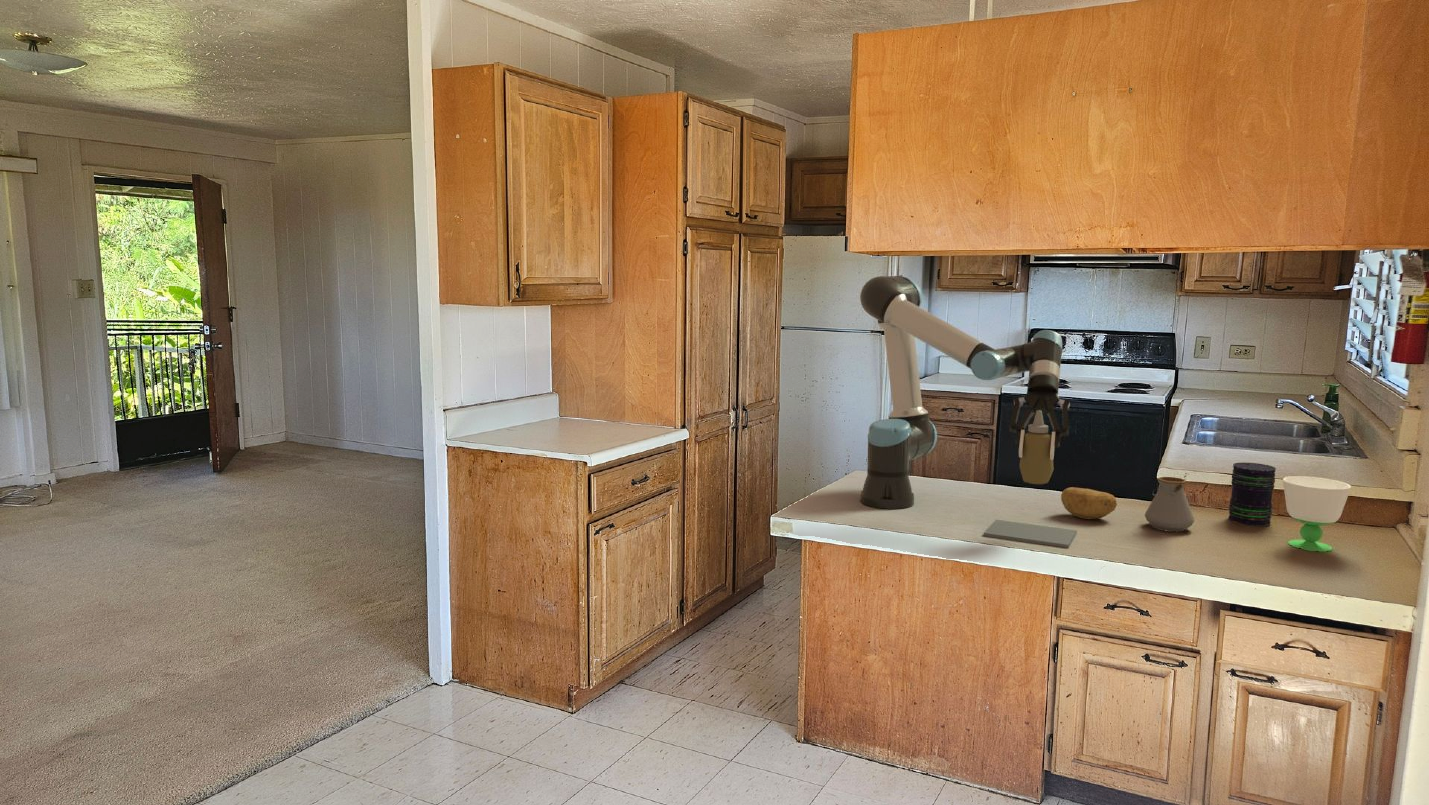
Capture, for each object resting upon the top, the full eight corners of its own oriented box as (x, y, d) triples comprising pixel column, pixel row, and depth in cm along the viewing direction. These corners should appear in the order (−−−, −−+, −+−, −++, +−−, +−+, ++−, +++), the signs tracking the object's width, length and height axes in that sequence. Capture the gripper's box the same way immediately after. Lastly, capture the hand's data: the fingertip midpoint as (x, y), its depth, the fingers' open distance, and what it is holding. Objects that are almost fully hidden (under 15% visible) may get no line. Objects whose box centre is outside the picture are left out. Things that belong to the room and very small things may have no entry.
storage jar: (1279, 526, 233) (1284, 470, 231) (1241, 526, 233) (1246, 470, 231) (1256, 516, 243) (1261, 462, 240) (1220, 516, 243) (1224, 462, 240)
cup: (1293, 553, 210) (1300, 488, 208) (1266, 536, 224) (1272, 475, 221) (1356, 556, 208) (1364, 490, 206) (1325, 539, 222) (1332, 477, 219)
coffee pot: (1142, 520, 239) (1146, 465, 237) (1190, 524, 235) (1195, 468, 232) (1149, 542, 219) (1153, 482, 217) (1202, 547, 215) (1207, 486, 213)
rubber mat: (983, 535, 224) (983, 532, 224) (995, 522, 236) (996, 519, 236) (1068, 548, 214) (1068, 544, 214) (1076, 533, 226) (1076, 530, 226)
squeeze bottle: (1012, 481, 223) (1015, 410, 220) (1028, 477, 228) (1032, 407, 226) (1042, 487, 217) (1046, 414, 214) (1058, 482, 222) (1062, 410, 220)
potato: (1113, 526, 233) (1115, 496, 231) (1056, 518, 240) (1058, 489, 239) (1118, 517, 241) (1120, 488, 240) (1063, 510, 248) (1065, 482, 247)
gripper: (1083, 392, 230) (1078, 467, 217) (1004, 389, 237) (995, 460, 225) (1084, 374, 224) (1079, 449, 212) (1003, 371, 232) (993, 443, 219)
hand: (1036, 455), depth 218 cm, fingers closed on squeeze bottle, 6 cm apart
